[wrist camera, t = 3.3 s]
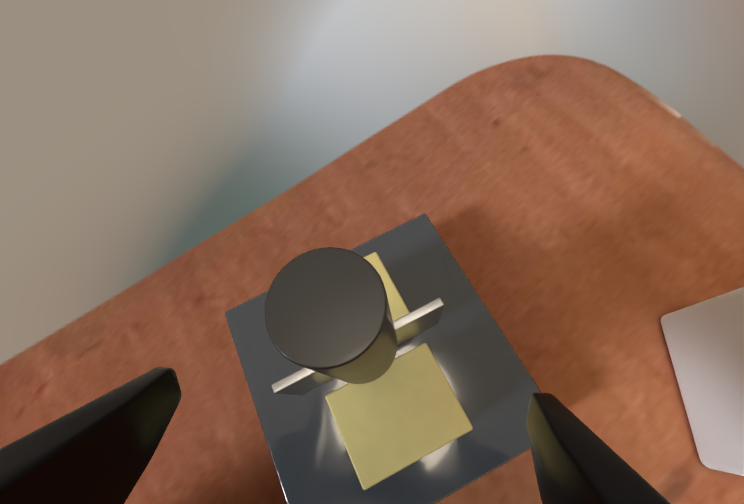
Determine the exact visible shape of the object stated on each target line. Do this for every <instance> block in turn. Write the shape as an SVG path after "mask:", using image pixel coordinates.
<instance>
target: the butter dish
mask: <svg viewBox="0 0 744 504" xmlns="http://www.w3.org/2000/svg"><path fill="white" fill-rule="evenodd" d="M349 251H352V252H354V253H356V254H358V255H360V256H362V257H363V258H364V257H366V256H368V255H370V254H372V253H374V252H376V253H377V254H378V256H379V258H380V260H381V261H382V263H383V265H384V267H385V269H386V270H387V272H388V274H389V276H390V278H391V279H392V281H393V283H394V285H395V287H396V289H397V290H398V292H399V294H400V296H401V298H402V299H403V301H404V303H405V305H406V307H407V309H408V310H409V312H412V311H414V310H416V309H418V308H420V307H422V306H424V305H426V304H428V303H429V302H431V301H433V300H435V299H437V298H441V300H442V302H443V303H444V307H443V310H442V313H441V316H440V319H439V323H438V324H437V325H435V326H433V327H431V328H429V329H427V330H426V331H424V332H422V333H420V334H418V335H416V336H414V337H412V338H410V339H408V340H407V341H405V342H403V343H401V344H399V345H397V352H396V356H395V358H397V357H399V356H401V355H403V354H405V353H406V352H408V351H410V350H412V349H414V348H416V347H418V346H420V345H421V344H423V343H426V344H427V345H428V347H429V348H430V350H431V352H432V354H433V356H434V358H435V359H436V361H437V363H438V365H439V367H440V368H441V370H442V372H443V374H444V376H445V378H446V379H447V381H448V383H449V385H450V387H451V388H452V390H453V392H454V394H455V396H456V397H457V399H458V401H459V403H460V405H461V407H462V408H463V410H464V412H465V414H466V416H467V417H468V419H469V421H470V423H471V425H472V427H473V429H472V430H471V431H469V432H468V433H466V434H464V435H462V436H461V437H459V438H457V439H455V440H453V441H452V442H450V443H448V444H446V445H444V446H443V447H441V448H439V449H437V450H436V451H434V452H432V453H430V454H428V455H427V456H425V457H423V458H421V459H420V460H418V461H416V462H414V463H412V464H411V465H409V466H407V467H405V468H404V469H402V470H400V471H398V472H396V473H395V474H393V475H391V476H389V477H387V478H386V479H384V480H382V481H380V482H379V483H377V484H375V485H373V486H371V487H370V488H368V489H366V490H364V489H363V488H362V486H361V484H360V481H359V479H358V476H357V474H356V471H355V469H354V466H353V464H352V461H351V459H350V457H349V454H348V452H347V449H346V447H345V444H344V442H343V439H342V437H341V434H340V432H339V430H338V427H337V425H336V422H335V420H334V417H333V415H332V412H331V410H330V407H329V405H328V403H327V400H326V395H327V394H329V393H331V392H333V391H335V390H337V389H339V388H340V387H342V386H344V385H346V384H348V383H347V382H344V381H341V380H339V379H336V378H334V379H333V380H331V381H329V382H327V383H325V384H323V385H321V386H319V387H317V388H315V389H314V390H312V391H310V392H308V393H306V394H304V395H302V396H299V395H287V394H275V393H274V391H273V388H272V384H274V383H276V382H278V381H279V380H281V379H283V378H285V377H287V376H289V375H291V374H293V373H295V372H297V371H299V370H301V369H303V368H304V367H301V366H299V365H297V364H294V363H293V362H291V361H289V360H288V359H286V358H285V357H284V356H283V355H282V354H281V353H280V352H279V351H278V350H277V349H276V348H275V346H274V344H273V343H272V341H271V339H270V337H269V335H268V332H267V329H266V324H265V314H264V310H265V302H266V297H267V294H268V291H269V290H268V291H266V292H264V293H262V294H260V295H258V296H256V297H254V298H252V299H250V300H248V301H246V302H244V303H242V304H240V305H238V306H236V307H234V308H232V309H230V310H228V311H226V312H225V316H226V319H227V322H228V325H229V328H230V331H231V334H232V337H233V340H234V343H235V346H236V349H237V352H238V355H239V359H240V362H241V365H242V368H243V371H244V374H245V377H246V380H247V383H248V386H249V389H250V392H251V395H252V398H253V401H254V404H255V407H256V410H257V414H258V417H259V420H260V423H261V426H262V429H263V432H264V435H265V438H266V441H267V444H268V447H269V450H270V453H271V456H272V459H273V462H274V465H275V469H276V472H277V475H278V478H279V481H280V484H281V487H282V490H283V493H284V496H285V499H286V502H287V504H435V503H437V502H438V501H440V500H442V499H444V498H445V497H447V496H449V495H451V494H452V493H454V492H456V491H458V490H459V489H461V488H463V487H464V486H466V485H468V484H470V483H471V482H473V481H475V480H477V479H478V478H480V477H482V476H484V475H485V474H487V473H489V472H491V471H492V470H494V469H496V468H498V467H499V466H501V465H503V464H504V463H506V462H508V461H510V460H511V459H513V458H515V457H517V456H518V455H520V454H522V453H524V452H525V451H527V450H529V449H531V446H530V441H529V436H528V431H527V424H526V420H527V413H528V408H529V403H530V397H531V395H532V393H535V392H538V393H541V391H540V390H539V388H538V386H537V385H536V383H535V382H534V380H533V379H532V377H531V376H530V374H529V373H528V371H527V369H526V368H525V366H524V365H523V363H522V362H521V360H520V359H519V357H518V356H517V354H516V353H515V351H514V349H513V348H512V346H511V345H510V343H509V342H508V340H507V339H506V337H505V336H504V334H503V332H502V331H501V329H500V328H499V326H498V325H497V323H496V322H495V320H494V319H493V317H492V315H491V314H490V312H489V311H488V309H487V308H486V306H485V305H484V303H483V302H482V300H481V298H480V297H479V295H478V294H477V292H476V291H475V289H474V288H473V286H472V285H471V283H470V281H469V280H468V278H467V277H466V275H465V274H464V272H463V271H462V269H461V268H460V266H459V264H458V263H457V261H456V260H455V258H454V257H453V255H452V254H451V252H450V251H449V249H448V247H447V246H446V244H445V243H444V241H443V240H442V238H441V237H440V235H439V234H438V232H437V230H436V229H435V227H434V226H433V224H432V223H431V221H430V220H429V218H428V217H427V215H426V214H425V213H424V214H422V215H420V216H418V217H416V218H414V219H412V220H410V221H408V222H406V223H404V224H402V225H400V226H398V227H396V228H394V229H392V230H390V231H388V232H386V233H384V234H382V235H380V236H378V237H375V238H373V239H371V240H369V241H367V242H365V243H363V244H361V245H359V246H357V247H355V248H353V249H351V250H349Z"/></svg>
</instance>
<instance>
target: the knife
mask: <svg viewBox="0 0 744 504" xmlns="http://www.w3.org/2000/svg"><path fill="white" fill-rule="evenodd" d="M443 307H444V303H443V302H442V300H441V298H437V299H435V300H433V301H431V302H429V303H428V304H426V305H424V306H422V307H420V308H418V309H416V310H414V311H412V312H410V313H408V314H406V315H404V316H403V317H401V318H399V319H397V320H395V321H393V319H392V315H391V311H390V307H389V302H388V298H387V294H386V290H385V286H384V283H383V281H382V279H381V277H380V275H379V273H378V272H377V270H376V269H375V268H374V267H373V266H372V264H371V263H369V262H368V261H367V260H366V259H365V258H363V257H362V256H360V255H358V254H356V253H354V252H352V251H349V250H346V249H341V248H332V247H329V248H319V249H314V250H311V251H308V252H306V253H303V254H301V255H299V256H298V257H296V258H294V259H293V260H292V261H290V262H289V263H288V264H287V265H286V266H284V267H283V268H282V270H281V271H280V272H279V273H278V274H277V276H276V277H275V279H274V280H273V282H272V284H271V286H270V288H269V291H268V294H267V297H266V302H265V310H264V314H265V324H266V329H267V332H268V335H269V337H270V339H271V341H272V343H273V344H274V346H275V348H276V349H277V350H278V351H279V352H280V353H281V354H282V355H283V356H284V357H285V358H286V359H288V360H289V361H291V362H293V363H294V364H297V365H299V366H301V367H304V368H303V369H301V370H299V371H297V372H295V373H293V374H291V375H289V376H287V377H285V378H283V379H281V380H279V381H278V382H276V383H274V384H272V388H273V391H274V393H275V394H287V395H299V396H302V395H304V394H306V393H308V392H310V391H312V390H314V389H315V388H317V387H319V386H321V385H323V384H325V383H327V382H329V381H331V380H333V379H334V378H336V379H339V380H341V381H344V382H347V383H351V384H365V383H369V382H372V381H374V380H376V379H378V378H380V377H381V376H382V375H383V374H385V373H386V372H387V370H388V369H389V368H390V366H391V365H392V363H393V361H394V359H395V356H396V352H397V345H399V344H401V343H403V342H405V341H407V340H408V339H410V338H412V337H414V336H416V335H418V334H420V333H422V332H424V331H426V330H427V329H429V328H431V327H433V326H435V325H437V324H438V323H439V319H440V316H441V313H442V310H443Z"/></svg>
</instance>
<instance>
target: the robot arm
mask: <svg viewBox="0 0 744 504" xmlns="http://www.w3.org/2000/svg"><path fill="white" fill-rule="evenodd" d="M180 399H181V390H180V386H179V383H178V380H177V376H176V373H175V371H174V370H173V369H171V368H161V367H159V368H155V369H153V370H151V371H149V372H147V373H145V374H143V375H141V376H139V377H137V378H136V379H134V380H132V381H130V382H128V383H126V384H124V385H122V386H120V387H118V388H116V389H114V390H113V391H111V392H109V393H107V394H105V395H103V396H101V397H99V398H97V399H95V400H93V401H91V402H90V403H88V404H86V405H84V406H82V407H80V408H78V409H76V410H74V411H72V412H70V413H68V414H66V415H65V416H63V417H61V418H59V419H57V420H55V421H53V422H51V423H49V424H47V425H45V426H43V427H42V428H40V429H38V430H36V431H34V432H32V433H30V434H28V435H26V436H24V437H22V438H20V439H18V440H17V441H15V442H13V443H11V444H9V445H7V446H5V447H3V448H1V449H0V504H124V503H125V501H126V499H127V498H128V496H129V494H130V493H131V491H132V490H133V488H134V486H135V485H136V483H137V481H138V480H139V478H140V476H141V475H142V473H143V472H144V470H145V468H146V467H147V465H148V463H149V461H150V460H151V458H152V456H153V454H154V452H155V450H156V448H157V446H158V444H159V442H160V440H161V438H162V436H163V434H164V432H165V430H166V428H167V426H168V424H169V422H170V420H171V418H172V416H173V414H174V412H175V410H176V408H177V406H178V404H179V402H180ZM526 424H527V431H528V436H529V441H530V446H531V451H532V456H533V461H534V466H535V471H536V476H537V481H538V486H539V491H540V496H541V499H542V503H543V504H670V503H669V502H668V501H667V500H666V499H665V498H664V497H663V496H662V495H661V494H659V493H658V492H657V491H656V490H655V489H654V488H653V487H652V486H651V485H650V484H649V483H648V482H646V481H645V480H644V479H643V478H642V477H641V476H640V475H639V474H638V473H637V472H636V471H635V470H633V469H632V468H631V467H630V466H629V465H628V464H627V463H626V462H625V461H624V460H623V459H622V458H620V457H619V456H618V455H617V454H616V453H615V452H614V451H613V450H612V449H611V448H610V447H609V446H607V445H606V444H605V443H604V442H603V441H602V440H601V439H600V438H599V437H598V436H597V435H596V434H594V433H593V432H592V431H591V430H590V429H589V428H588V427H587V426H586V425H585V424H584V423H583V422H581V421H580V420H579V419H578V418H577V417H576V416H575V415H574V414H573V413H572V412H571V411H570V410H568V409H567V408H566V407H565V406H564V405H563V404H562V403H561V402H560V401H559V400H558V399H557V398H555V397H554V396H553V395H552V394H549V393H538V392H535V393H532V395H531V397H530V403H529V408H528V413H527V420H526Z"/></svg>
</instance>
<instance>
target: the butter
mask: <svg viewBox="0 0 744 504" xmlns="http://www.w3.org/2000/svg"><path fill="white" fill-rule="evenodd" d="M364 258H365V259H366V260H367V261H368V262H369V263H371V264H372V266H373V267H374V268H375V269H376V270H377V272H378V273H379V275H380V277H381V279H382V281H383V283H384V286H385V290H386V294H387V298H388V302H389V307H390V311H391V315H392V319H393V321H395V320H397V319H399V318H401V317H403V316H404V315H406V314H408V313H410V312H409V310H408V309H407V307H406V305H405V303H404V301H403V299H402V298H401V296H400V294H399V292H398V290H397V289H396V287H395V285H394V283H393V281H392V279H391V278H390V276H389V274H388V272H387V270H386V269H385V267H384V265H383V263H382V261H381V260H380V258H379V256H378V254H377V253H376V252H374V253H372V254H370V255H368V256H366V257H364ZM326 400H327V403H328V405H329V407H330V410H331V412H332V415H333V417H334V420H335V422H336V425H337V427H338V430H339V432H340V434H341V437H342V439H343V442H344V444H345V447H346V449H347V452H348V454H349V457H350V459H351V461H352V464H353V466H354V469H355V471H356V474H357V476H358V479H359V481H360V484H361V486H362V488H363V489H364V490H366V489H368V488H370V487H371V486H373V485H375V484H377V483H379V482H380V481H382V480H384V479H386V478H387V477H389V476H391V475H393V474H395V473H396V472H398V471H400V470H402V469H404V468H405V467H407V466H409V465H411V464H412V463H414V462H416V461H418V460H420V459H421V458H423V457H425V456H427V455H428V454H430V453H432V452H434V451H436V450H437V449H439V448H441V447H443V446H444V445H446V444H448V443H450V442H452V441H453V440H455V439H457V438H459V437H461V436H462V435H464V434H466V433H468V432H469V431H471V430H472V429H473V427H472V425H471V423H470V421H469V419H468V417H467V416H466V414H465V412H464V410H463V408H462V407H461V405H460V403H459V401H458V399H457V397H456V396H455V394H454V392H453V390H452V388H451V387H450V385H449V383H448V381H447V379H446V378H445V376H444V374H443V372H442V370H441V368H440V367H439V365H438V363H437V361H436V359H435V358H434V356H433V354H432V352H431V350H430V348H429V347H428V345H427V344H426V343H423V344H421V345H420V346H418V347H416V348H414V349H412V350H410V351H408V352H406V353H405V354H403V355H401V356H399V357H397V358H395V359H394V361H393V363H392V365H391V366H390V368H389V369H388V370H387V372H386V373H385V374H383V375H382V376H381V377H380V378H378V379H376V380H374V381H372V382H369V383H365V384H351V383H348V384H346V385H344V386H342V387H340V388H339V389H337V390H335V391H333V392H331V393H329V394H327V395H326Z"/></svg>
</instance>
